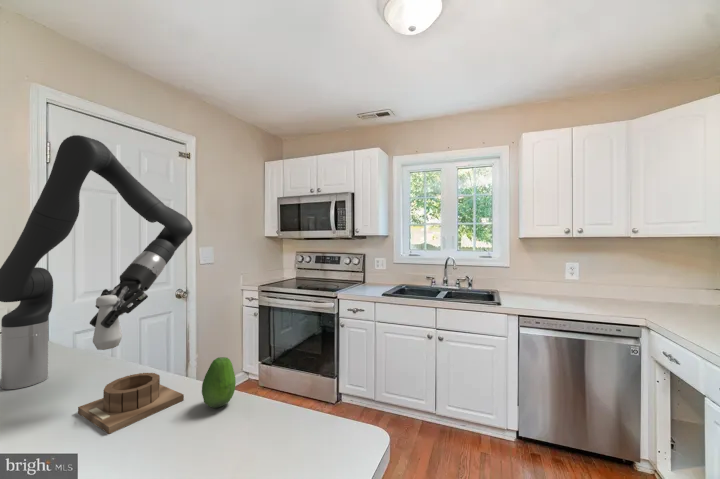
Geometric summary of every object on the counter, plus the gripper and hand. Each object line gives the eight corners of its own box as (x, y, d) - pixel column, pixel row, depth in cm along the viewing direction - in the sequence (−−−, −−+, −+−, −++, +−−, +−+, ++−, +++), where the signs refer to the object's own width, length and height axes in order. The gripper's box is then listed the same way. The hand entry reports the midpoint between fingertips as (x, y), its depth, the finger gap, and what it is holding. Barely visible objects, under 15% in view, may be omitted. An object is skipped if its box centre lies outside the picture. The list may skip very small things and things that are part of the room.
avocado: (241, 404, 77) (241, 357, 77) (208, 418, 71) (208, 366, 71) (227, 394, 83) (227, 349, 83) (196, 405, 77) (196, 357, 77)
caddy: (78, 413, 73) (78, 388, 73) (150, 385, 87) (150, 364, 87) (109, 434, 65) (109, 405, 65) (183, 400, 79) (183, 377, 79)
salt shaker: (105, 352, 74) (104, 298, 74) (86, 350, 75) (85, 297, 75) (128, 343, 80) (127, 293, 80) (110, 342, 81) (109, 293, 81)
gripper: (115, 262, 86) (64, 316, 74) (155, 262, 83) (108, 319, 71) (133, 278, 91) (89, 332, 80) (172, 279, 88) (131, 335, 76)
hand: (99, 325), depth 75 cm, fingers closed on salt shaker, 3 cm apart
